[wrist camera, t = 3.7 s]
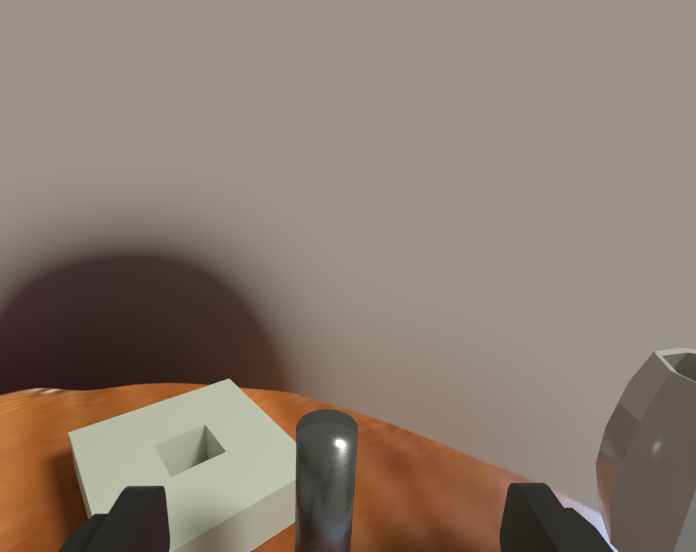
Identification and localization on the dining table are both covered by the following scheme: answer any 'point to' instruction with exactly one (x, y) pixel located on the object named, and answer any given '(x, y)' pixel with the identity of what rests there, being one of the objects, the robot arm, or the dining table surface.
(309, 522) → the peg
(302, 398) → the dining table surface
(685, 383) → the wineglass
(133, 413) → the hole block
